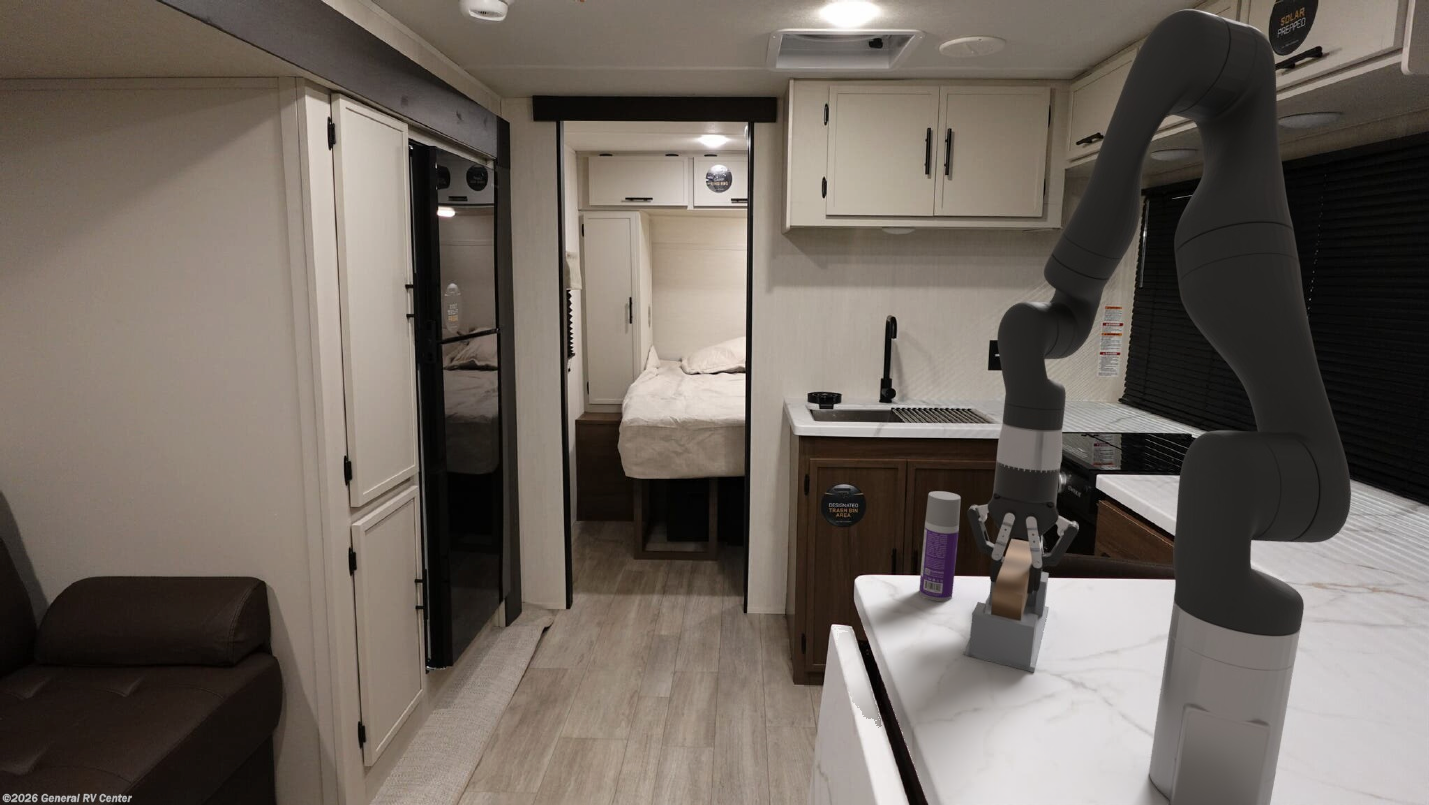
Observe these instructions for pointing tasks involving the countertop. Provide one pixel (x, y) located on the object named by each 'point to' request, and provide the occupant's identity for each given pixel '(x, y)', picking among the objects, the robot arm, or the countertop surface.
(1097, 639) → the countertop surface
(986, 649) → the endcap rail
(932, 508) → the container
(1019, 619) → the slat
